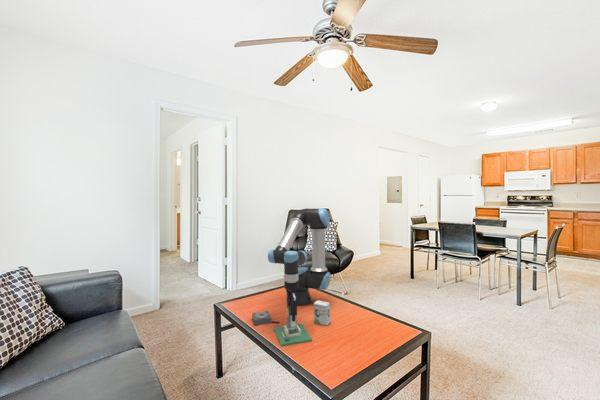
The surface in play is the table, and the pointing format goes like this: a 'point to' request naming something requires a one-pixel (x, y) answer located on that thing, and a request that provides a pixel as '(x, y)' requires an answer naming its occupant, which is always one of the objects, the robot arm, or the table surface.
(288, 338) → the board
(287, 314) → the plug
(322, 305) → the ink box
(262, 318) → the speaker
